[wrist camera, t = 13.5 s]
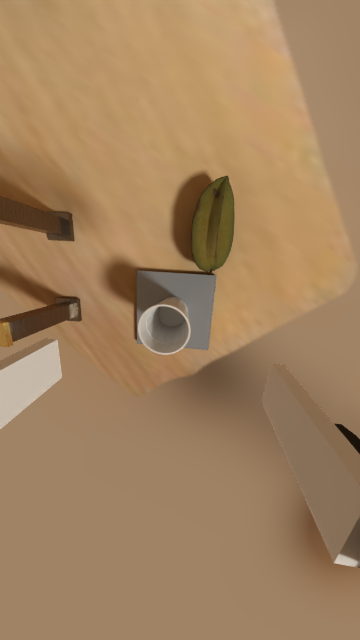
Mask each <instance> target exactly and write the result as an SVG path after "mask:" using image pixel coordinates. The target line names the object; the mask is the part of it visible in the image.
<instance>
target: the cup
mask: <svg viewBox="0 0 360 640" xmlns="http://www.w3.org/2000/svg"><path fill="white" fill-rule="evenodd" d="M190 332H191V329H190V323H189V317H188V308H187V306H186V304H185V302H184V301H182V300H181V299H179V298H177V297H169V298H166V299H164V300H163V301H162V302H160V303H158V304H156V305H154V306H152V307H150V308H148V309H147V310H146V311H145V312H144V313H143V314H142V316H141V317H140V319H139V323H138V334H139V337H140V339H141V341H142V343H143V344H144V345H145V346H146V347H147V348H148V349H149V350H151V351H153V352H155V353H158V354H163V355H168V354H173V353H176V352H178V351H180V350H181V349H182V348H183V347H184V346H185V345H186V344H187V342H188V340H189V338H190Z"/></svg>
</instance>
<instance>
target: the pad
mask: <svg viewBox="0 0 360 640" xmlns="http://www.w3.org/2000/svg"><path fill="white" fill-rule="evenodd" d="M215 283H216V275H204V274H188V273H172V272H156V271H140V270H137V344H143V343H142V341H141V339H140V337H139V334H138V323H139V319H140V317H141V316H142V314H143V313H144V312H145V311H146V310H147V309H148V308H150V307H152V306H154V305H156V304H158V303H160V302H162V301H163V300H164V299H166V298H169V297H177V298H179V299H181V300H182V301H184V302H185V304H186V306H187V308H188V317H189V323H190V329H191V332H190V338H189V340H188V342H187V344H186V345H185V346H184V347H183V348H190V349H201V350H208V348H209V338H210V329H211V320H212V311H213V302H214V292H215Z"/></svg>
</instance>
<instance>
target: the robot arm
mask: <svg viewBox="0 0 360 640" xmlns="http://www.w3.org/2000/svg"><path fill="white" fill-rule="evenodd" d="M61 378H62V373H61V365H60V357H59V349H58V342H57V339H48V338H46V339H43V340H41V341H39V342H37V343H35V344H33V345H31V346H29V347H27V348H25V349H23V350H21V351H19V352H17V353H15V354H13V355H11V356H9V357H7V358H5V359H3V360H1V361H0V429H1V428H2V427H3V426H5V425H6V424H7V423H8V422H9V421H10V420H12V419H13V418H14V417H15V416H16V415H18V414H19V413H20V412H21V411H23V410H24V409H25V408H26V407H27V406H28V405H30V404H31V403H32V402H33V401H34V400H36V399H37V398H38V397H39V396H40V395H41V394H43V393H44V392H45V391H46V390H48V389H49V388H50V387H51V386H52V385H53V384H55V383H56V382H57V381H58V380H59V379H61ZM261 403H262V405H263V407H264V409H265V411H266V414H267V416H268V418H269V420H270V422H271V425H272V427H273V429H274V432H275V434H276V436H277V438H278V440H279V442H280V445H281V447H282V449H283V452H284V454H285V456H286V458H287V460H288V462H289V465H290V467H291V469H292V471H293V474H294V476H295V478H296V480H297V482H298V485H299V487H300V489H301V491H302V494H303V496H304V498H305V500H306V503H307V505H308V507H309V509H310V511H311V514H312V516H313V518H314V520H315V522H316V525H317V527H318V529H319V531H320V534H321V536H322V538H323V540H324V542H325V545H326V547H327V549H328V551H329V554H330V556H331V558H332V560H333V562H334V563H336V564H342V565H347V566H354V567H359V568H360V439H359V438H358V437H357V436H356V435H355V434H353V433H352V432H351V431H349V430H348V429H347V428H345V427H344V426H343V425H341V424H334V423H333V422H332V421H331V420H330V418H329V417H328V416H327V415H326V414H325V412H324V411H323V410H322V409H321V408H320V407H319V406H318V404H317V403H316V402H315V401H314V399H312V397H311V396H310V395H309V394H308V392H307V391H306V390H305V389H304V388H303V386H302V385H301V384H300V383H299V382H298V381H297V379H296V378H295V377H294V376H293V374H292V373H291V372H290V371H289V370H288V369H287V367H286V366H285V365H280V364H271V365H270V370H269V373H268V378H267V382H266V386H265V390H264V394H263V398H262V402H261Z"/></svg>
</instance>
